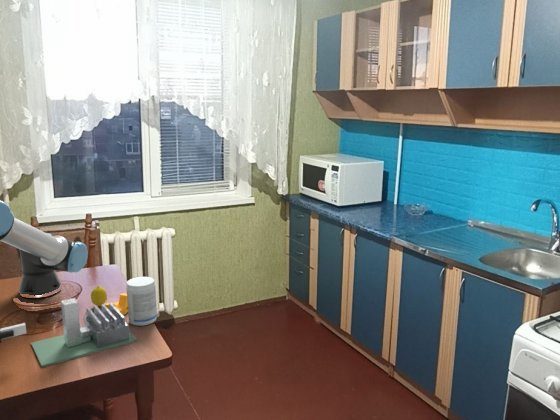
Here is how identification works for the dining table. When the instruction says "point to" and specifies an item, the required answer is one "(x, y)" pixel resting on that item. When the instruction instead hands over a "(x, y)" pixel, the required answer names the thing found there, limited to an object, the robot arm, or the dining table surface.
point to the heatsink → (105, 326)
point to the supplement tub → (141, 301)
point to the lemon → (98, 296)
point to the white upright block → (72, 323)
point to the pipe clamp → (121, 304)
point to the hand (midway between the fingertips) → (25, 328)
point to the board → (67, 349)
